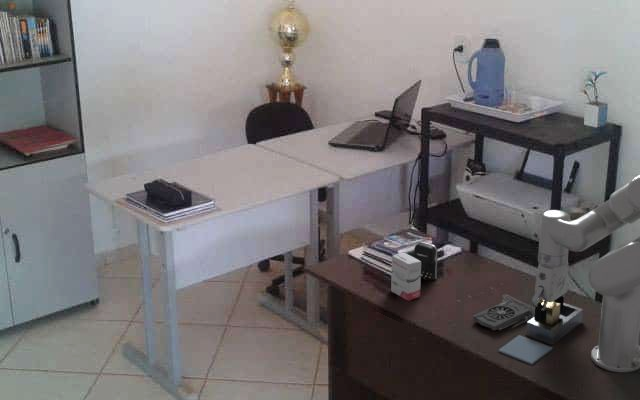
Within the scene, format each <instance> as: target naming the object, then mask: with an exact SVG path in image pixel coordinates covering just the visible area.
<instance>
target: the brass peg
mask: <svg viewBox="0 0 640 400" xmlns="http://www.w3.org/2000/svg"><path fill="white" fill-rule="evenodd" d="M540 303H541V304H542V305H543V303H544V301H543V302H540ZM546 310H547V315H546V323H541V322H539V321H538V323H541V324H544V325H547V326H549V327H552V328H553V327H554V326H556V325H557V324H558V323H559V316H560V303H557V302H554V301H553V302H548V303H547V306H546Z"/></svg>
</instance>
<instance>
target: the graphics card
mask: <svg viewBox="0 0 640 400" xmlns="http://www.w3.org/2000/svg"><path fill="white" fill-rule="evenodd" d="M502 298H503V299H502V302H500V303H498V304H496V305H493V306H491V307H490V308H487V309H485V310H483V311H480V312H478V313H475V314H474V315H472V320H473V321H474V322H477V323H478V324H480V325H481V326H483V327H486V328H488V329H489V330H491V331H497V330H498V331H501V330H504V329H505V328H508V327H510V326H512V325H513V326H512V327H511V328H512V329H513V328H515V327H517V326H520V325H522V324H524V323H527V322H528V321H529V320H530V319H532V318H533V317H535V308H534V306H532V305H530V304H528V303H525V302H523V301H521V300H519V299H517V298H514V297H512V296H511V295H508V294H502Z"/></svg>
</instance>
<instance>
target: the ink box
mask: <svg viewBox="0 0 640 400" xmlns="http://www.w3.org/2000/svg"><path fill="white" fill-rule="evenodd" d="M421 279H422V278H421V261H419V260H418V259H416V258H414V256H412V255H409V254H408V253H406V252H404V251H403V252H400V253H396V254H394V255H393V254H392V255H391V280H390V281H391V283H390V284H391V285H390V286H391V287H390V288H391V290H390V291H391V292H392V293H393V294H395V295H397V296H399V297H401V298H402V299H404V300H406V301H407V302H410V301H412V300H414V299H417V298H420V297H421Z"/></svg>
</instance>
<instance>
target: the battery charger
mask: <svg viewBox="0 0 640 400" xmlns="http://www.w3.org/2000/svg"><path fill="white" fill-rule="evenodd" d="M413 250H414V251H413V257H414V258H416V259H418V260H419V261H421V279H422V280H424V281H425V280H426V281H430V282H432V281H434V280H436V279H437V278H438V248H437V245H435V244H432V243H430V242H426V241H420V242H418V243H417V244H416V245H414V249H413Z"/></svg>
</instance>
